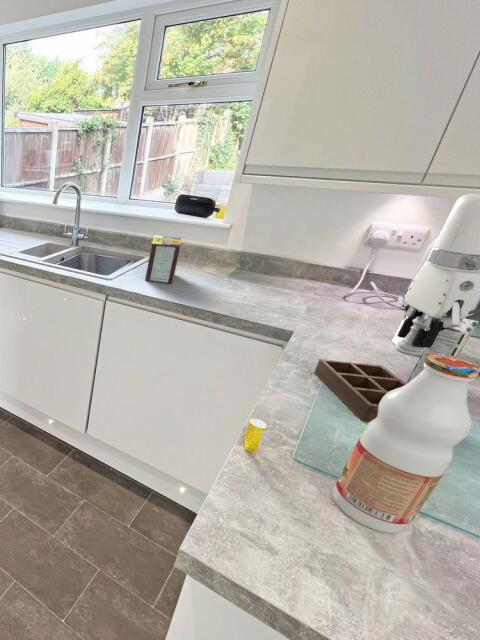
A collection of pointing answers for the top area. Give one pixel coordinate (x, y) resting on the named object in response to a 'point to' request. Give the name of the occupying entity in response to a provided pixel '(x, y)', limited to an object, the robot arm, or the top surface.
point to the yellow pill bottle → (254, 434)
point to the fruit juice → (407, 446)
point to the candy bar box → (447, 343)
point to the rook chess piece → (411, 339)
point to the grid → (358, 385)
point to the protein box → (163, 259)
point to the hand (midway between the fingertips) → (413, 341)
